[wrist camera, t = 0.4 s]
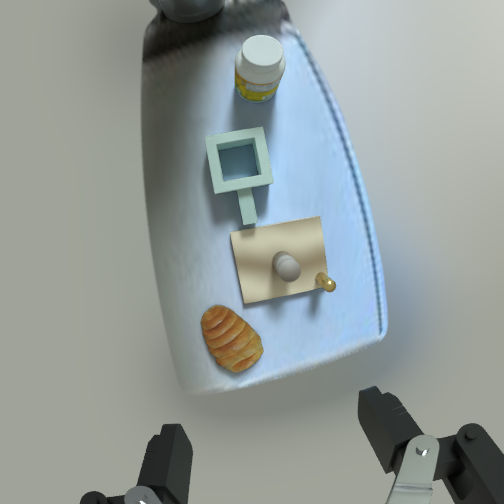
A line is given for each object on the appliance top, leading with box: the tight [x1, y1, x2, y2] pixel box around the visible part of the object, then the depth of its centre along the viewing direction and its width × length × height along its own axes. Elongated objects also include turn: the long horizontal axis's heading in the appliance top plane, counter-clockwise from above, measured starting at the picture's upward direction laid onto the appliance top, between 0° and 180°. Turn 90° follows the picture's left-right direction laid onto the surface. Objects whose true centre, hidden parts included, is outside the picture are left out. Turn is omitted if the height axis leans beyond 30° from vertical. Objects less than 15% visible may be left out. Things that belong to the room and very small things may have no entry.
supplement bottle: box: [235, 35, 285, 103], centre depth 26 cm, size 5×5×10 cm
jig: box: [230, 216, 328, 304], centre depth 32 cm, size 9×11×6 cm
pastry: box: [201, 305, 263, 372], centre depth 35 cm, size 9×7×4 cm
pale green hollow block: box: [204, 127, 274, 225], centre depth 31 cm, size 10×6×4 cm, turn 10°
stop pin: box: [316, 272, 336, 292], centre depth 33 cm, size 1×1×4 cm
